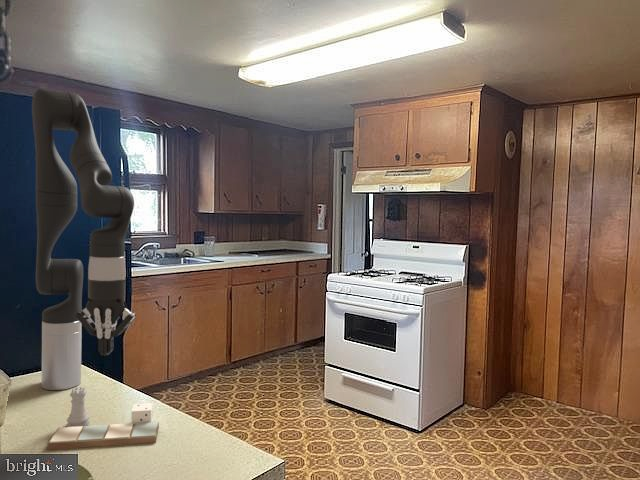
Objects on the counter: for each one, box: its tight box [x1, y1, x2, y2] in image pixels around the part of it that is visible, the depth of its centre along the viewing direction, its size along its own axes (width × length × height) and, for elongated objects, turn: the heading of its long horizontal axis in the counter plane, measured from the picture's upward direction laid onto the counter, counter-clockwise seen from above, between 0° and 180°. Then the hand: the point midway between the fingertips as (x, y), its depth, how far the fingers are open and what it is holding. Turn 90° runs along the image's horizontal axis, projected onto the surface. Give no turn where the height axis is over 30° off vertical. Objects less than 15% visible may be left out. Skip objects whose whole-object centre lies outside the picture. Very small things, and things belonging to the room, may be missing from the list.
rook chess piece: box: [65, 386, 90, 427], centre depth 106 cm, size 4×4×8 cm
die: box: [130, 402, 154, 424], centre depth 108 cm, size 4×4×4 cm
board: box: [47, 421, 160, 450], centre depth 101 cm, size 7×20×1 cm, turn 103°
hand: (105, 354), depth 109 cm, fingers closed
